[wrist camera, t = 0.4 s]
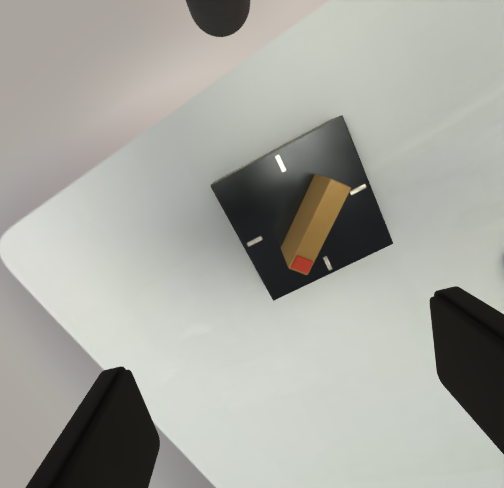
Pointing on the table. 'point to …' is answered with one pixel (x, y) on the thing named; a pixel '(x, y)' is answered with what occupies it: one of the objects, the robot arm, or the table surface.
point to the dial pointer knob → (313, 222)
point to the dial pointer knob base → (290, 198)
